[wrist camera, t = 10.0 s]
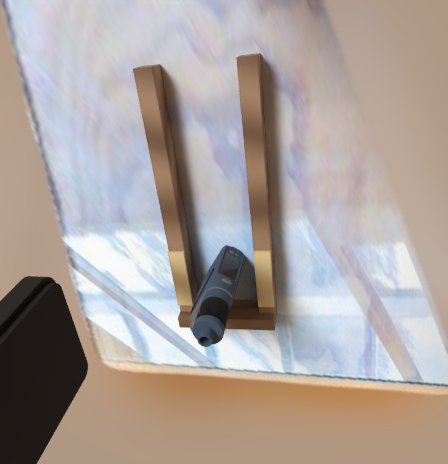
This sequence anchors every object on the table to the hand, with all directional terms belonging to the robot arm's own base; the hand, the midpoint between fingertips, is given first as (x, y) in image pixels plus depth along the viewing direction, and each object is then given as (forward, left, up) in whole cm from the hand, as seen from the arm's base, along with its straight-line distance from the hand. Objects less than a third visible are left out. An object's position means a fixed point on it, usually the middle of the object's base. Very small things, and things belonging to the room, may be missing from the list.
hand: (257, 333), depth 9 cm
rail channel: (+7, -7, -26) cm, 28 cm away
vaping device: (+14, -7, -26) cm, 31 cm away
